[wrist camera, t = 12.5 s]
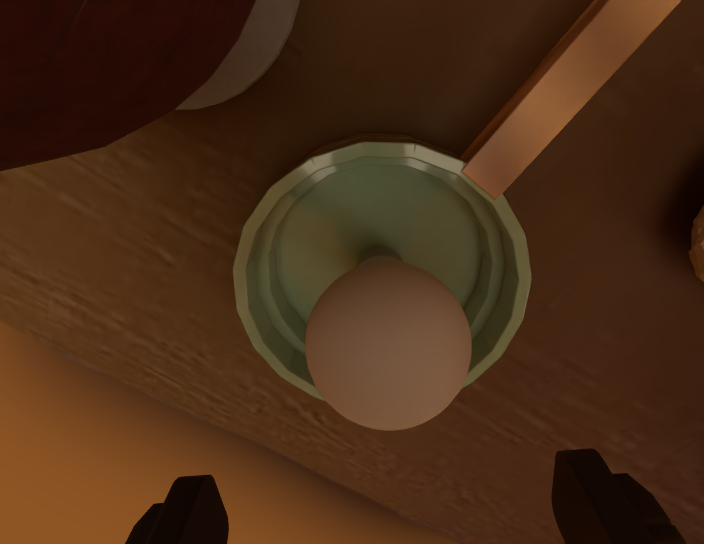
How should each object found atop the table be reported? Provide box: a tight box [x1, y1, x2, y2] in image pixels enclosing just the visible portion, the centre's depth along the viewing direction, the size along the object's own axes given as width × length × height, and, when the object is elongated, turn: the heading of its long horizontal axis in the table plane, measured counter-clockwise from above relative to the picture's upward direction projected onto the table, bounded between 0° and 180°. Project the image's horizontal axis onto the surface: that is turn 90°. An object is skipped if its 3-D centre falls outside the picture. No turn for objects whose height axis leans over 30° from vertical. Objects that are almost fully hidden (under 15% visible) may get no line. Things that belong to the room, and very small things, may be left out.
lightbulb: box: [305, 247, 472, 431], centre depth 18 cm, size 6×6×11 cm
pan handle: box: [460, 0, 681, 200], centre depth 16 cm, size 12×2×2 cm, turn 143°
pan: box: [233, 133, 532, 401], centre depth 21 cm, size 14×14×4 cm
